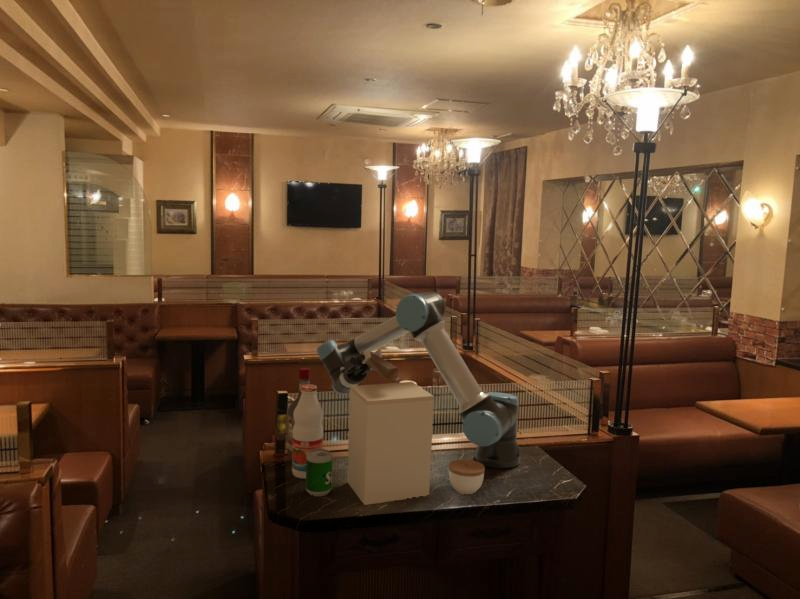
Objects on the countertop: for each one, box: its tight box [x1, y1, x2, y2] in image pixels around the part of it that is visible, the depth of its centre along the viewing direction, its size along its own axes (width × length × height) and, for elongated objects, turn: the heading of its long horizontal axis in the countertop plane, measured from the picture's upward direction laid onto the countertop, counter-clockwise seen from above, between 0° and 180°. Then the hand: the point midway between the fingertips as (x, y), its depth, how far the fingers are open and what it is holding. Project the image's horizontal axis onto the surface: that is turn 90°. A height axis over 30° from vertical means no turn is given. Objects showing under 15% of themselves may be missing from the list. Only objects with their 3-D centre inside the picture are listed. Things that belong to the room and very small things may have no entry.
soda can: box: [305, 448, 334, 497], centre depth 180 cm, size 8×8×12 cm
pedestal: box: [346, 381, 435, 506], centre depth 182 cm, size 20×16×30 cm
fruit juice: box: [291, 383, 324, 480], centre depth 192 cm, size 9×9×28 cm
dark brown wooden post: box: [361, 351, 399, 380], centre depth 189 cm, size 3×24×3 cm, turn 23°
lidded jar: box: [448, 458, 486, 495], centre depth 185 cm, size 11×11×9 cm
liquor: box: [286, 367, 311, 460], centre depth 205 cm, size 9×9×30 cm
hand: (374, 353), depth 191 cm, fingers closed on dark brown wooden post, 3 cm apart
